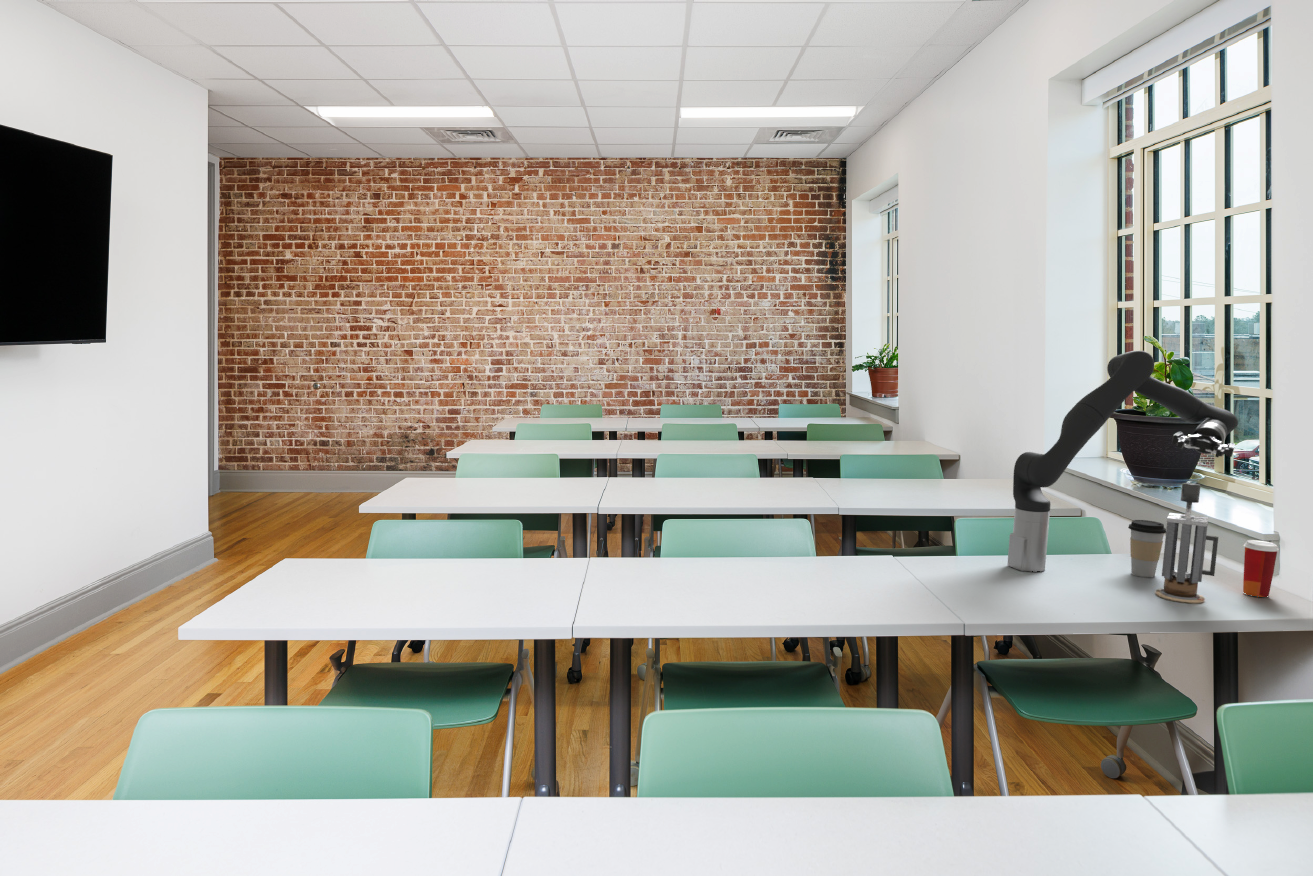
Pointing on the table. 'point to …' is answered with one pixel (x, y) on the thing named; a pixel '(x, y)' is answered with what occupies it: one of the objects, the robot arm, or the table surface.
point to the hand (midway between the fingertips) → (1199, 449)
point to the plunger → (1188, 507)
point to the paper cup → (1259, 567)
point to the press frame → (1185, 559)
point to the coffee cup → (1145, 546)
